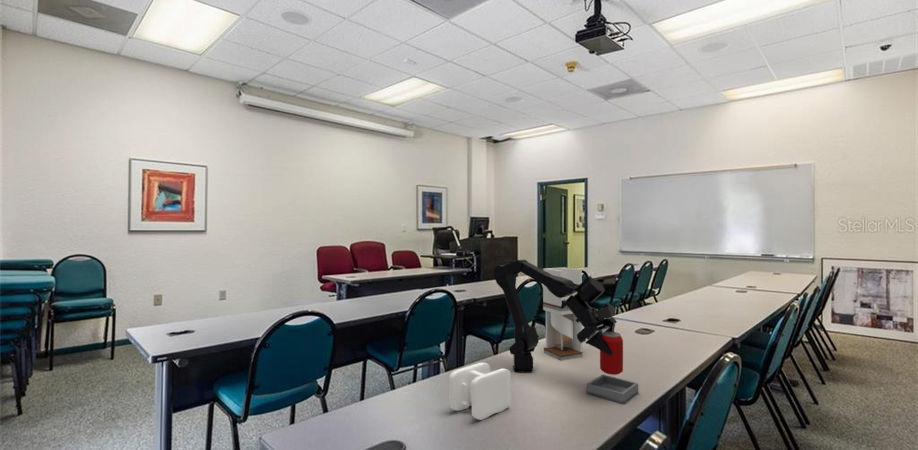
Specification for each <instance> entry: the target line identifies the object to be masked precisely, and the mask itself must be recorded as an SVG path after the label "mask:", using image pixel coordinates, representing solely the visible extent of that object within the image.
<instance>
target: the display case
mask: <svg viewBox="0 0 918 450" xmlns="http://www.w3.org/2000/svg"><path fill="white" fill-rule="evenodd" d="M542 270H544V271H546V272H548V273H550V274H551V275H554V276H558V277H563V278H566V279H569V280H571V281H572V282H573V283H574V284H578V285H580V284H581V283H582V282H583V272H582V271H583V270H582V269H577V268H570V267H551V268H549V267H547V268H546V267H545V268H542ZM577 293H578V292H576V293H573V294H572V295H573V296H575V295H576V294H577ZM570 296H571V295H570ZM570 296H567V297H563V298H558V297H556V296H555V295H554V294H552V293H551V292H550V291H549V290H548V289H547V287H546V286H545V285H543V284H542V298H543V304H542V310H543V311H545V347H543V354H546V355H548V356H550V357H553V358H555V359H557V360H559V361H567V360H572V359H579V358H583V343H580V342H579V340H578V339H577V334H578V333H579V332H580V331H581V330H582V329H583V325H582V324H581V323H580V322H578V323H577V322H576V319H577V318H576V316H575V315H574V314H573V313H572V312H571V310H570V309H569V308H568V307H567V308H564V309H561V304H562V302H561V301H562V300H567V299H568V298H569V297H570Z"/></svg>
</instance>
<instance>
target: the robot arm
mask: <svg viewBox="0 0 918 450" xmlns="http://www.w3.org/2000/svg"><path fill="white" fill-rule="evenodd" d="M520 273H523V274H524V275H526V276H527V277H529V278H531V279H533V280H535V281H536V282H538V283H540V284H541V285H542V286H543V285H545V286H546V287H547V289H548V290H549V291H550V292H551V293H552V294H554V295H555V296H556V297H558V298H563V297H567V296H570V295H571V296H570V297H569V298H568V299H567V300H562V301H561V302H562V304H561V309H564V308H567V307H568V308H569V309H570V310H571V312H572V313H573V314H574V315H575V316H576V318H577V319H576V322H577V323H578V322H580V323H581V324H582V330H581V331H580V332H579V333H578V334H577V339H578V340H579V342H580V343H582V344H583V343H585V344H586V345H589V346H591V347H593V348H595V349H598V350H599V351H600V350H601V351H603V352H605V353H607V354H608V355H611V354H612V351H611V349H610V348H609V346H608V345H607V343H606V342H605V340H604V339H603V337H602V333H603V332H615V328H616V324H617V323H618V321H617V319H616V318H614V316H617V314H616V312H615V311H616V307H614V305H612V304H611V303H609V302H608V303H606V304H603V305H602V308H600V309H597V308H596V307H591V306H590V305H589V304H588V303H593V302H594V301H595V300H597V299H598V298H599V297H600V296H601V295H602V294H603V293H605V290H606V289H605V287H604V285H603V284H602V283H601V282H599V281H598V280H597V279H595V278H593V277H592V276H591V275H589V276H586V277H585V278H584V280H582V283H581V284H580V285H578V284H574V283H573V282H572V281H571V280H569V279H566V278H563V277H558V276H554V275H551V274H550V273H548V272H546V271H544V270H543V268H540V267H538V266H537V265H535V264H533V263H531V262H530V261H527V260H526V259H516V260H515V261H513V262H511V263H508V264H504V265H497V266H495V267H494V269H493V271H492V276H493V278H494V280H495V282H496V284H497V285H498V287H499V288H501V290H502V292H503V294H504V298H505V300H506V303H507V304H506V305H507V306H508V309H509V313H510V316H511V319H512V322H513V325H514V334H513V337H514V343H513V344H512V345H511V346H510V347H509V348H508V349H509V353H510V354H511V355H512V356H513V358H512V359H513V360H512V361H513V362H512V363H513V364H512V368H513V372H514V373H534V372H533V370H534V357H533V356H532V352H534V351H535V349H536V347H537V346H538V344H539V338H540V336H539V334H538V333H537V328H536V326H531V325H530V324H529V323H528V320H527V317H526V313H525V311H524V307H523V304H522V302H521V299H520V296H519V293H518V290H517V286H516V284H517V275H518V274H520ZM576 292H578V293H577V294H576V295H575V296H573V295H572V294H573V293H576Z"/></svg>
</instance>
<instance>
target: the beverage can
mask: <svg viewBox="0 0 918 450" xmlns="http://www.w3.org/2000/svg"><path fill="white" fill-rule="evenodd" d="M602 337H603V339H604V340H605V342H606V343H607V345H608V346H609V348H610V349H611V351H612V354H611V355H608V354H607V353H605V352H603V351H601V350H599V370H601V372H603V373H605V375H606V374H607V375H610V376H617V375H619V374H621V373H623V371H624V338H622V336H621V333H620V332H616V331H614V332H603V333H602Z"/></svg>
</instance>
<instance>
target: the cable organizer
mask: <svg viewBox="0 0 918 450" xmlns="http://www.w3.org/2000/svg"><path fill="white" fill-rule="evenodd" d="M448 385H449V387H448V391H449V392H448V393H449V394H448V397H449V398H448V399H449V400H448V403H449V405H448V406H449V408H450V409H451V410H453V411H458V412H459V411H463V410H465V409H467V410H469V407H471V415H472V417H473V418H474V419H476V420H480V421H483V420H485V419H487V418H489V417H490V416H492V415H494V414H499V413H501V412H503V411H505V410H506V409H507V408H508V407H509V406H510V404H511V371H510V370H509V369H506V368H502V367H501V368H500V369H496V370H493V371H491V367H490V365H489V364H488V363H486V362H483V361H482V362H478V363H475V364H472V365H471V364H470V365H468V366H465V367H462V368H459V369H458V368H457V369H455V370H452V372H451V373H450V375H449V378H448Z"/></svg>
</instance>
